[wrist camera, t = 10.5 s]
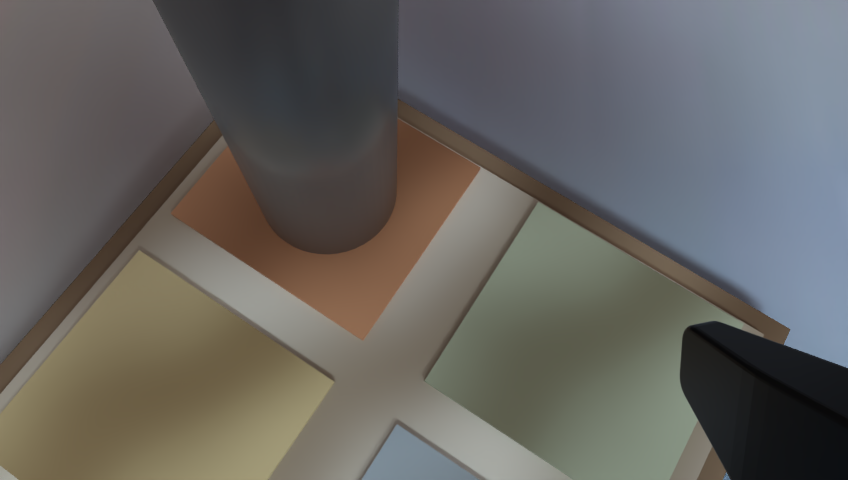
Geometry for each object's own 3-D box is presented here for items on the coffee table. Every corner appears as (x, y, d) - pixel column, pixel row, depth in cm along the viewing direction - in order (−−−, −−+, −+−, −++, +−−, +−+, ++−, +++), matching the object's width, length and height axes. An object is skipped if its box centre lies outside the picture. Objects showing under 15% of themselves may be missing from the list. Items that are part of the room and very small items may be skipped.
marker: (427, 212, 17) (501, -344, 5) (299, 285, 16) (58, -181, 5) (354, 103, 18) (281, -570, 6) (230, 166, 17) (-114, -467, 6)
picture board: (769, 336, 18) (798, 326, 17) (512, 894, 14) (524, 938, 12) (293, 54, 20) (286, 26, 19) (-51, 456, 16) (-89, 455, 15)
